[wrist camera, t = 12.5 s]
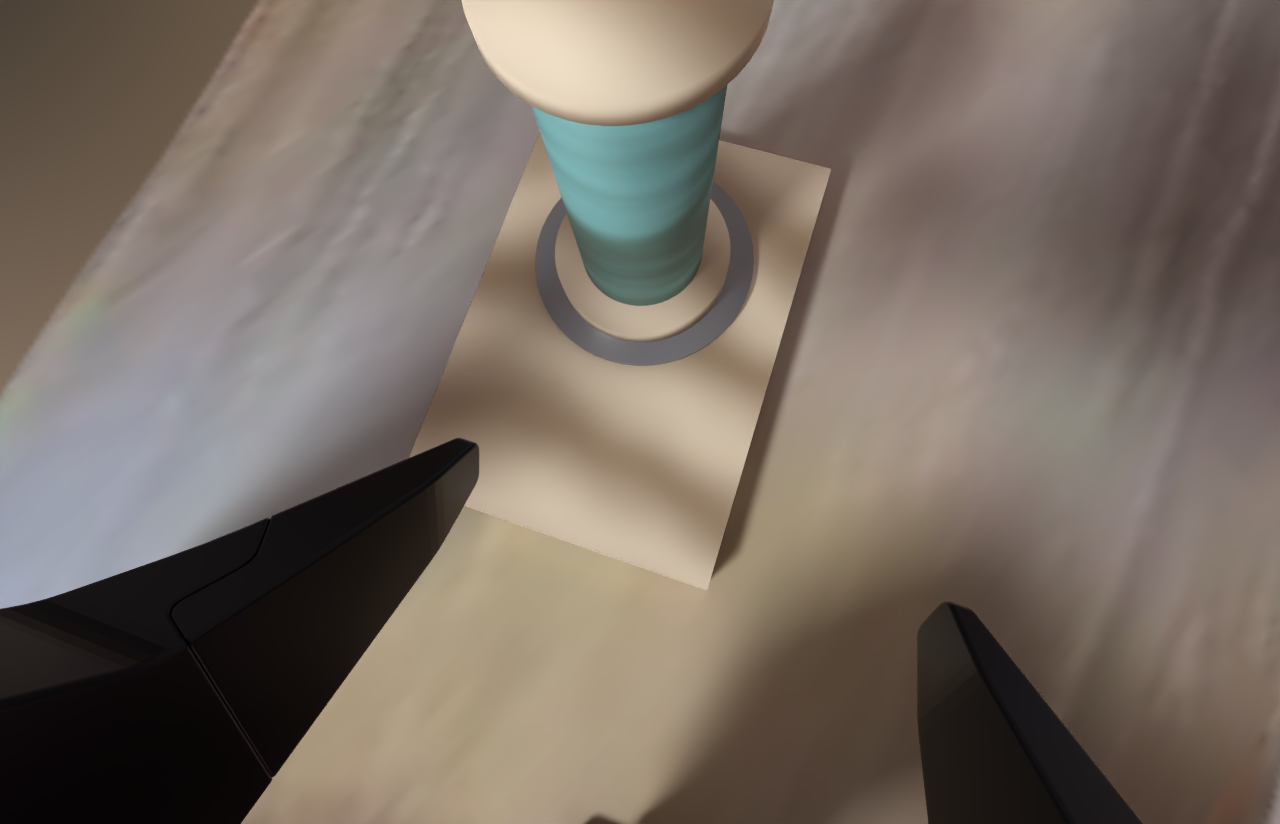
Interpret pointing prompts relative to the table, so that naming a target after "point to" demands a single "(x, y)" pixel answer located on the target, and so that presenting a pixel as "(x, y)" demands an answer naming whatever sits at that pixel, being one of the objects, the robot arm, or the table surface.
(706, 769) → the table surface
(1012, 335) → the table surface
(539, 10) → the bobbin
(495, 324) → the stand board
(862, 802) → the table surface
